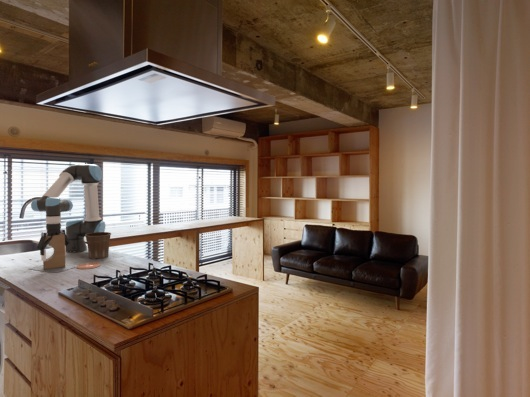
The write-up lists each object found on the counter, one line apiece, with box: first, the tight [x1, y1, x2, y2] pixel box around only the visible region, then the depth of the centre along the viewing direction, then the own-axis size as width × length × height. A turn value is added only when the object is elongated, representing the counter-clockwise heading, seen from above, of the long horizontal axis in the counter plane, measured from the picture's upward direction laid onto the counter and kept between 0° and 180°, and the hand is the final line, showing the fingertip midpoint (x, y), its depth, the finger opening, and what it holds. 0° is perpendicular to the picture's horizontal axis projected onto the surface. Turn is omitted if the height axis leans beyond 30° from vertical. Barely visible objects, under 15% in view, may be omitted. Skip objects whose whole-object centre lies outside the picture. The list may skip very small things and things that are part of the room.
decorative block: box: [42, 233, 66, 269], centre depth 200 cm, size 11×6×20 cm, turn 126°
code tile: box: [29, 263, 78, 274], centre depth 200 cm, size 16×22×1 cm
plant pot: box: [85, 231, 112, 260], centre depth 228 cm, size 16×16×16 cm
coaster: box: [75, 262, 101, 270], centre depth 205 cm, size 13×13×1 cm
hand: (54, 258), depth 200 cm, fingers open, 12 cm apart
